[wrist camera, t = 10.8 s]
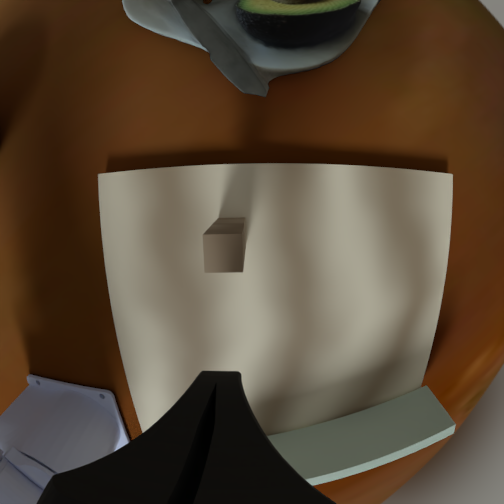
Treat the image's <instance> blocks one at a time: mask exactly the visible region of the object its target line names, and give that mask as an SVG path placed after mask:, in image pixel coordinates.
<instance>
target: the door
mask: <svg viewBox="0 0 504 504" xmlns="http://www.w3.org/2000/svg"><path fill="white" fill-rule="evenodd" d="M455 425H456V424H455V423H454V421H453V420H452V419H451V417H450V416H449V414H448V413H447V412H446V410H445V409H444V408H443V406H442V405H441V404H440V402H439V401H438V400H437V398H436V397H435V396H434V394H433V393H432V392H431V390H430V389H429V388H428V387H427V385H426V386H424V387H422V388H419V389H417V390H415V391H412V392H410V393H408V394H405V395H403V396H400V397H398V398H395V399H393V400H390V401H387V402H385V403H382V404H379V405H377V406H374V407H371V408H368V409H365V410H362V411H359V412H356V413H353V414H350V415H347V416H344V417H341V418H337V419H334V420H331V421H327V422H324V423H320V424H316V425H313V426H309V427H305V428H301V429H297V430H293V431H288V432H284V433H279V434H275V435H270V436H267V437H268V439H269V440H270V441H271V443H272V444H273V446H274V447H275V448H276V449H277V451H278V452H279V453H280V454H281V456H282V457H283V458H284V459H285V460H286V461H287V462H288V463H289V464H290V465H291V466H292V467H293V468H294V469H295V470H296V472H297V473H298V474H299V475H300V476H302V477H303V478H304V479H305V480H306V481H307V482H308V483H310V484H311V485H312V486H313V485H317V484H321V483H325V482H329V481H333V480H336V479H340V478H343V477H347V476H350V475H354V474H357V473H360V472H363V471H366V470H369V469H372V468H375V467H378V466H380V465H383V464H386V463H388V462H391V461H394V460H396V459H399V458H401V457H404V456H406V455H409V454H411V453H413V452H416V451H418V450H420V449H422V448H424V447H427V446H429V445H431V444H433V443H435V442H437V441H439V440H441V439H443V438H445V437H447V436H449V435H451V434H453V433H454V430H455Z"/></svg>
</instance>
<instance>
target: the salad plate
mask: <svg viewBox="0 0 504 504" xmlns="http://www.w3.org/2000/svg"><path fill="white" fill-rule="evenodd" d="M380 1H381V0H212V2H211V3H209V4H204V3H203V0H122V2H123V7H124V10H125V12H126V14H127V16H128V17H129V18H130V19H131V20H132V21H134V22H135V23H137V24H138V25H140V26H142V27H144V28H146V29H149V30H151V31H153V32H155V33H158V34H160V35H163V36H166V37H169V38H173V39H177V40H179V41H182V42H184V43H187V44H191V45H193V46H196V47H198V48H201V49H203V50H205V51H207V52H209V53H210V59H211V61H212V62H213V63H214V64H215V65H216V67H217V68H218V69H219V70H220V71H221V72H222V73H223V75H224V76H226V77H227V79H228V80H229V81H230V82H232V83H233V84H234V85H235V86H236V87H237V88H238V89H239V90H240V91H241V92H243V93H247V94H255V95H258V96H263V97H265V96H266V95H267V91H268V89H269V86H268V82H269V81H270V80H272V79H274V78H276V77H279V76H282V75H288V74H293V73H299V72H303V71H308V70H311V69H316V68H319V67H321V66H323V65H326V64H328V63H330V62H332V61H334V60H335V59H337V58H338V57H339V56H340V55H341V54H342V53H343V52H344V51H346V50H347V48H348V47H349V46H350V45H351V44H352V42H353V41H354V40H355V38H356V37H357V35H358V34H359V32H360V31H361V29H362V27H363V26H364V24H365V23H366V21H367V19H368V18H369V16H370V15H371V13H372V11H373V9H374V8H375V7H376V5H377V4H378V3H379V2H380Z"/></svg>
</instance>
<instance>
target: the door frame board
mask: <svg viewBox="0 0 504 504" xmlns="http://www.w3.org/2000/svg"><path fill="white" fill-rule="evenodd" d="M98 187H99V207H100V221H101V233H102V243H103V252H104V261H105V269H106V276H107V283H108V290H109V296H110V302H111V308H112V314H113V319H114V324H115V329H116V334H117V339H118V344H119V348H120V353H121V357H122V361H123V365H124V370H125V374H126V377H127V381H128V385H129V389H130V392H131V396H132V399H133V403H134V406H135V410H136V413H137V416H138V419H139V423H140V426H141V429H142V432H145V431H146V430H147V429H148V428H150V427H151V426H152V425H153V424H154V423H155V422H157V421H158V420H159V419H160V418H161V417H162V416H163V415H164V414H165V413H166V412H167V411H168V410H169V409H170V408H171V407H172V406H173V405H174V404H175V403H176V402H177V401H178V399H179V398H180V397H181V396H182V395H183V394H184V393H185V391H186V390H187V389H188V388H189V386H190V385H191V384H192V383H193V381H194V380H195V379H196V377H197V376H198V375H199V373H200V372H201V371H239V372H240V373H241V376H242V385H243V389H244V392H245V395H246V398H247V400H248V402H249V405H250V407H251V409H252V411H253V413H254V415H255V417H256V419H257V421H258V423H259V424H260V426H261V428H262V430H263V431H264V433H265V434H266V436H270V435H275V434H279V433H284V432H288V431H293V430H297V429H301V428H305V427H309V426H313V425H316V424H320V423H324V422H327V421H331V420H334V419H337V418H341V417H344V416H347V415H350V414H353V413H356V412H359V411H362V410H365V409H368V408H371V407H374V406H377V405H379V404H382V403H385V402H387V401H390V400H393V399H395V398H398V397H400V396H403V395H405V394H408V393H410V392H412V391H415V390H417V389H419V388H420V387H421V384H422V381H423V377H424V374H425V370H426V367H427V363H428V360H429V356H430V352H431V348H432V344H433V340H434V335H435V331H436V326H437V322H438V317H439V312H440V307H441V301H442V295H443V289H444V283H445V276H446V269H447V261H448V253H449V243H450V231H451V217H452V192H453V174H447V173H439V172H430V171H421V170H411V169H400V168H387V167H374V166H357V165H336V164H301V163H253V164H217V165H196V166H179V167H165V168H153V169H141V170H131V171H121V172H112V173H104V174H98Z"/></svg>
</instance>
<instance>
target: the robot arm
mask: <svg viewBox="0 0 504 504" xmlns="http://www.w3.org/2000/svg"><path fill="white" fill-rule="evenodd" d="M27 380H28V383H29V386H28V387H27V388H26V389H25V390H24V391H23V392H22V393H21V394H20V395H19V396H18V397H17V399H16V400H15V401H14V402H13V403H12V404H11V405H10V406H9V407H8V408H7V409H6V411H5V412H4V413H3V414H2V415H1V416H0V504H336V503H335V502H333V501H332V500H331V499H329V498H328V497H326V496H325V495H323V494H322V493H321V492H320V491H318V490H317V489H316V488H314V487H313V486H312V485H311V484H310V483H308V482H307V481H306V480H305V479H304V478H303V477H302V476H300V475H299V474H298V473H297V472H296V470H295V469H294V468H293V467H292V466H291V465H290V464H289V463H288V462H287V461H286V460H285V459H284V458H283V457H282V456H281V454H280V453H279V452H278V451H277V449H276V448H275V447H274V446H273V444H272V443H271V441H270V440H269V439H268V437H267V436H266V434H265V433H264V431H263V430H262V428H261V426H260V424H259V423H258V421H257V419H256V417H255V415H254V413H253V411H252V409H251V407H250V405H249V402H248V400H247V398H246V395H245V392H244V389H243V385H242V376H241V373H240V372H239V371H201V372H200V373H199V375H198V376H197V377H196V379H195V380H194V381H193V383H192V384H191V385H190V386H189V388H188V389H187V390H186V391H185V393H184V394H183V395H182V396H181V397H180V398H179V399H178V401H177V402H176V403H175V404H174V405H173V406H172V407H171V408H170V409H169V410H168V411H167V412H166V413H165V414H164V415H163V416H162V417H161V418H160V419H159V420H158V421H157V422H155V423H154V424H153V425H152V426H151V427H150V428H148V429H147V430H146V431H145V432H143V433H142V434H141V435H139V436H138V437H137V438H135V439H134V440H132V441H131V442H130V440H129V437H128V434H127V432H126V429H125V426H124V423H123V421H122V418H121V415H120V412H119V409H118V406H117V403H116V400H115V397H114V394H113V393H112V392H111V391H109V390H104V389H98V388H92V387H86V386H81V385H76V384H70V383H66V382H61V381H56V380H52V379H48V378H43V377H39V376H35V375H31V374H29V375H28V376H27ZM102 394H103V395H104V396H103V395H102Z"/></svg>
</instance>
